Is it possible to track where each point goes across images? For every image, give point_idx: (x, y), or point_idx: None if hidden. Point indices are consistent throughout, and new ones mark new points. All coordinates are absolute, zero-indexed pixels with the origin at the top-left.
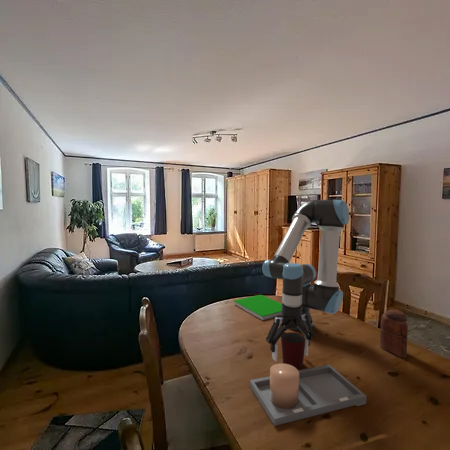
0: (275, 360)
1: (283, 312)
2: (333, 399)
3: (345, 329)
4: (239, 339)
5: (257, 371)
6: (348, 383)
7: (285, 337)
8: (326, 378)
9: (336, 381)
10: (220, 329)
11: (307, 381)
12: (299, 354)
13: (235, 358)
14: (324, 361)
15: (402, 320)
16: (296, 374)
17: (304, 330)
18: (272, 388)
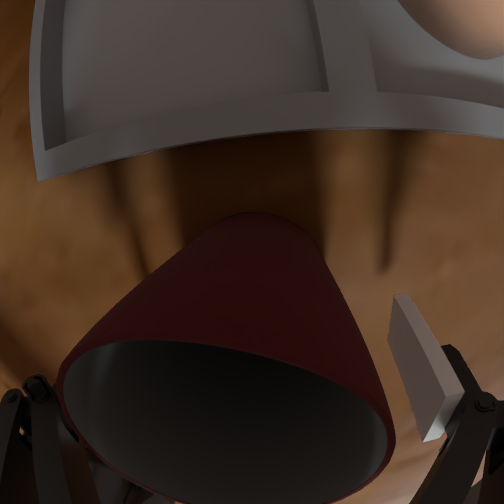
0: (409, 297)
1: None
2: None
3: (2, 396)
4: (392, 469)
5: (488, 261)
6: (45, 2)
7: (272, 477)
8: (106, 84)
9: (74, 61)
10: (406, 495)
11: (246, 60)
12: (213, 247)
13: (495, 370)
14: (61, 266)
15: None
16: None
17: (43, 480)
18: None
